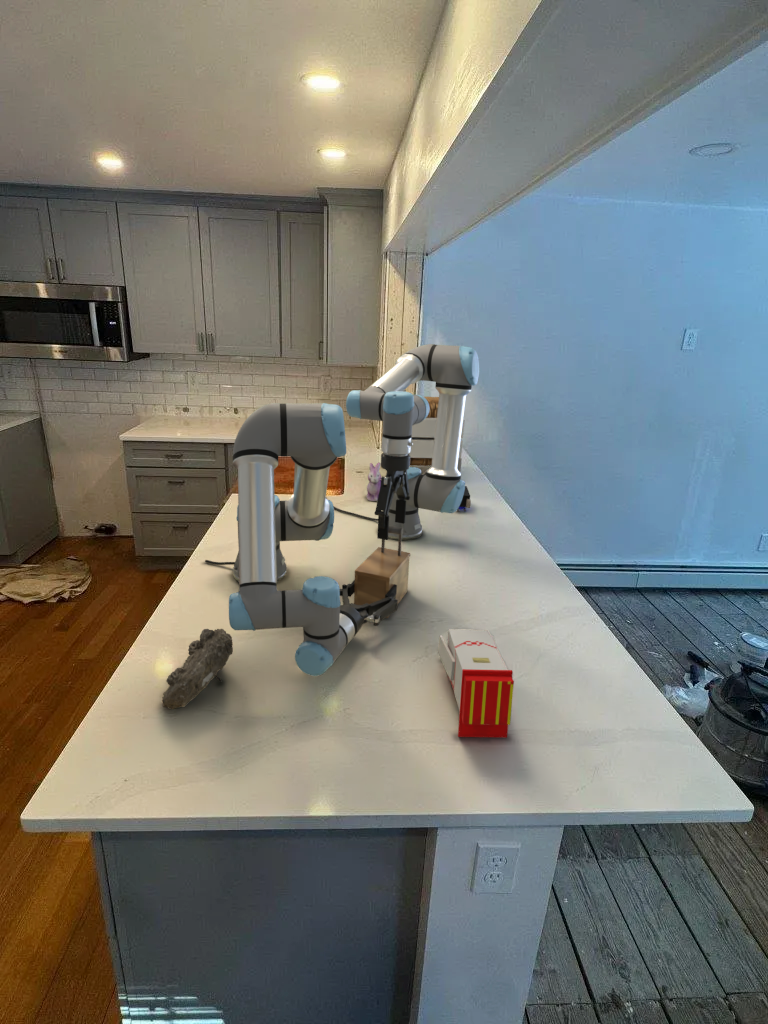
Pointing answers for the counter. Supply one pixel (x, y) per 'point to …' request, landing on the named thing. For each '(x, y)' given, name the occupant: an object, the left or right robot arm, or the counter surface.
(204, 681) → the fossil
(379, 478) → the figurine
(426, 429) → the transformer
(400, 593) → the chest
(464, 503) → the figurine character
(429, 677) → the counter surface
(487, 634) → the toy
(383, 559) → the lid
